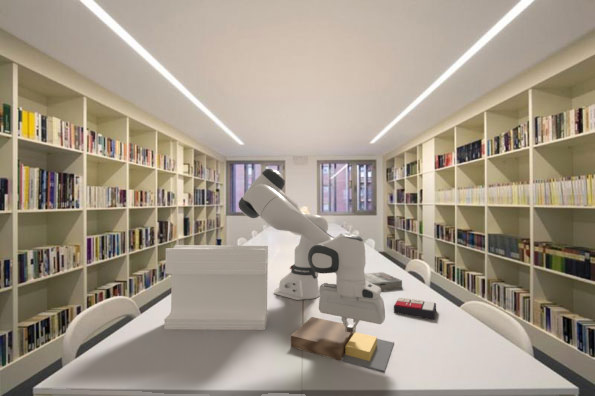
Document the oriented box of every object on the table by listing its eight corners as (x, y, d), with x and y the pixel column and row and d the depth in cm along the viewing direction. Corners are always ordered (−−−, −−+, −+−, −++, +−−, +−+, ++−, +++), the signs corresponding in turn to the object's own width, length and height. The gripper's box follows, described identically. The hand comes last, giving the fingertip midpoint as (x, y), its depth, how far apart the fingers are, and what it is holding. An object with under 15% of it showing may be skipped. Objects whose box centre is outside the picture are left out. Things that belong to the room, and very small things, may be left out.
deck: (290, 346, 87) (290, 335, 87) (311, 326, 101) (311, 316, 101) (340, 360, 80) (340, 347, 80) (355, 336, 94) (355, 326, 94)
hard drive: (340, 283, 158) (340, 275, 158) (382, 279, 166) (382, 272, 166) (357, 293, 140) (357, 284, 140) (402, 289, 148) (402, 280, 148)
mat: (342, 360, 80) (342, 359, 80) (357, 335, 95) (357, 334, 95) (384, 372, 74) (384, 370, 74) (393, 343, 90) (393, 342, 90)
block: (266, 320, 107) (267, 245, 107) (264, 329, 99) (265, 249, 99) (174, 319, 106) (175, 245, 107) (164, 329, 98) (165, 248, 99)
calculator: (398, 296, 125) (435, 301, 118) (398, 306, 125) (436, 311, 117) (393, 304, 115) (433, 309, 108) (393, 314, 115) (434, 321, 108)
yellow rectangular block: (345, 354, 82) (345, 345, 82) (354, 339, 91) (354, 332, 91) (369, 361, 79) (369, 352, 79) (376, 345, 88) (377, 337, 88)
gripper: (315, 284, 89) (315, 328, 89) (382, 294, 80) (382, 344, 79) (323, 279, 94) (322, 321, 94) (386, 288, 85) (386, 334, 85)
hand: (350, 331), depth 87 cm, fingers closed
